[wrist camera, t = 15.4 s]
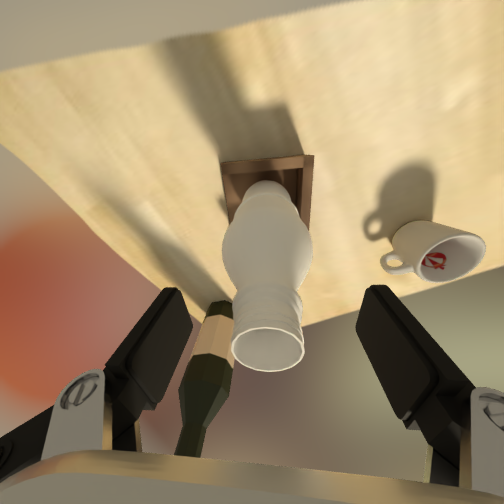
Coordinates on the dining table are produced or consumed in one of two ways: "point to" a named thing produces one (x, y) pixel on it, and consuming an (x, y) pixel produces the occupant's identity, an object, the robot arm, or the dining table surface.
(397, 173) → the dining table surface
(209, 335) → the wine bottle
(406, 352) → the robot arm
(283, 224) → the water bottle
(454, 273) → the cup
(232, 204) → the open wooden box
